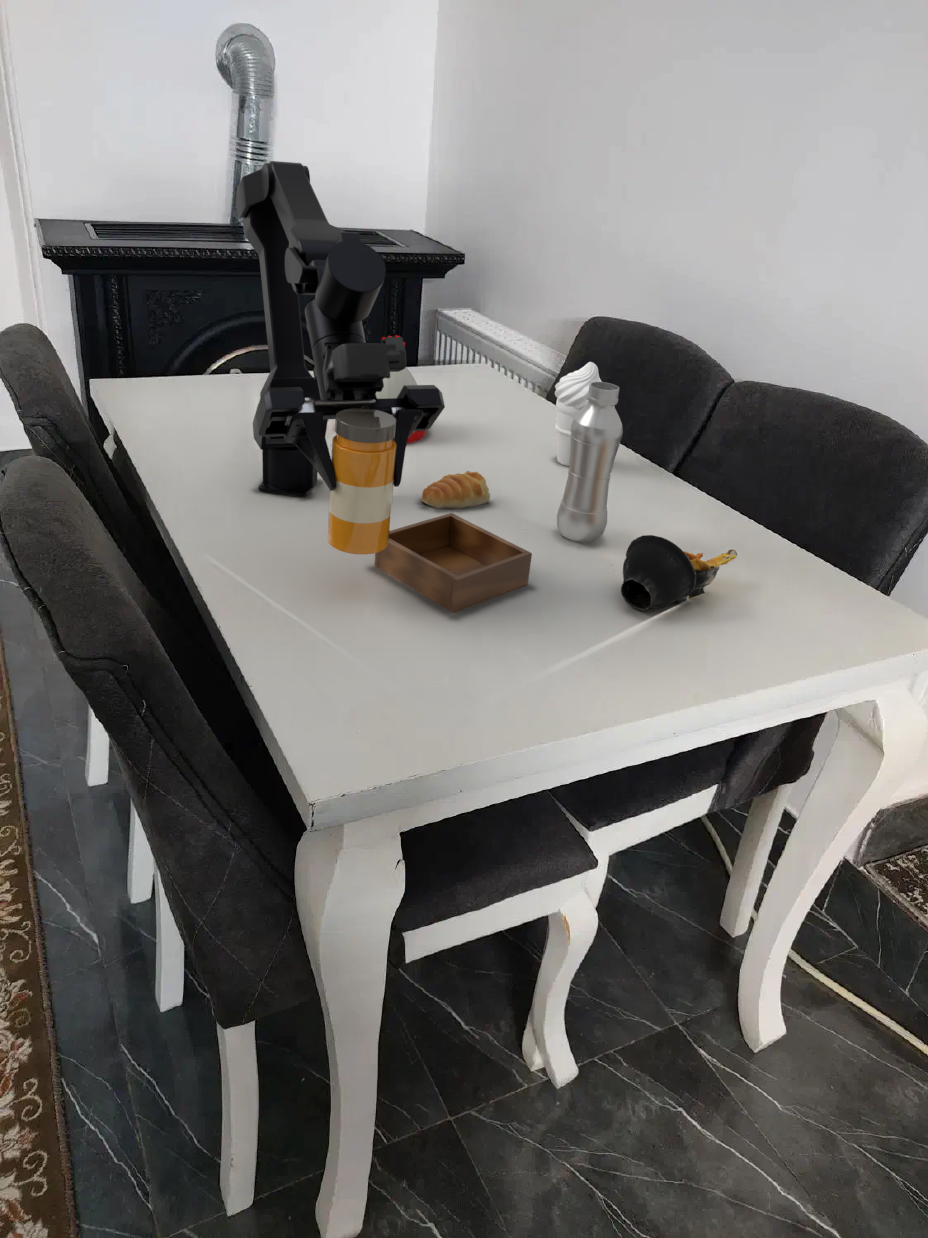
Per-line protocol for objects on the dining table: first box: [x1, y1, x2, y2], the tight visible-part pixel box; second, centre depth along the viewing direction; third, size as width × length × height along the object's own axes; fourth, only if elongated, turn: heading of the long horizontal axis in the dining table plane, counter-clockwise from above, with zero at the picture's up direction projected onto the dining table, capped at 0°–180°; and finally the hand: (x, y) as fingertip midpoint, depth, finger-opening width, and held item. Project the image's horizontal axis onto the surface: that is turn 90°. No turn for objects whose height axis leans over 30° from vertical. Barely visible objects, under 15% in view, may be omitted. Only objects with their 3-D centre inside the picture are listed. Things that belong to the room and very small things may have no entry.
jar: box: [327, 408, 397, 555], centre depth 94 cm, size 6×6×14 cm
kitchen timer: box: [376, 334, 426, 444], centre depth 147 cm, size 14×14×15 cm
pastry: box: [421, 470, 491, 509], centre depth 126 cm, size 9×7×4 cm
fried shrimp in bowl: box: [620, 534, 738, 612], centre depth 107 cm, size 9×11×18 cm
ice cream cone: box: [554, 361, 603, 467], centre depth 142 cm, size 8×8×16 cm
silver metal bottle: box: [556, 381, 624, 543], centre depth 116 cm, size 6×7×20 cm
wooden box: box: [374, 512, 533, 614], centre depth 106 cm, size 13×12×4 cm
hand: (365, 487), depth 93 cm, fingers closed on jar, 6 cm apart
